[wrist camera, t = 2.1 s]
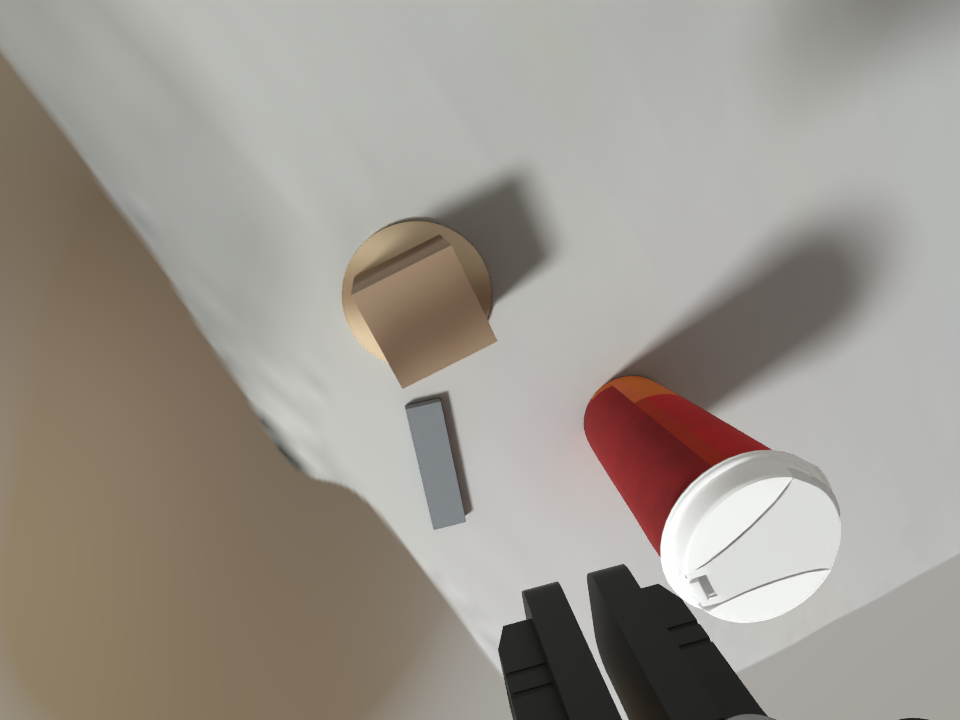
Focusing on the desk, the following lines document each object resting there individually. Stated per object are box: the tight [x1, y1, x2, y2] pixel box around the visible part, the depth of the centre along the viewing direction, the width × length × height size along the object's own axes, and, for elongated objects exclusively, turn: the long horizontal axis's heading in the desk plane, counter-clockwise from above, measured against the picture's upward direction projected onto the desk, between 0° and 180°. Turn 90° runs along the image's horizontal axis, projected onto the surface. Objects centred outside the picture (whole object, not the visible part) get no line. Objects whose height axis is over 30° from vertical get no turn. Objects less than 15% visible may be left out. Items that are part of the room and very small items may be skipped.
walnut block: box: [351, 235, 497, 388], centre depth 30 cm, size 5×5×5 cm
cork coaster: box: [342, 221, 492, 363], centre depth 33 cm, size 8×8×1 cm
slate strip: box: [405, 398, 466, 530], centre depth 36 cm, size 8×2×1 cm, turn 10°
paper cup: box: [584, 376, 842, 623], centre depth 31 cm, size 8×8×14 cm
